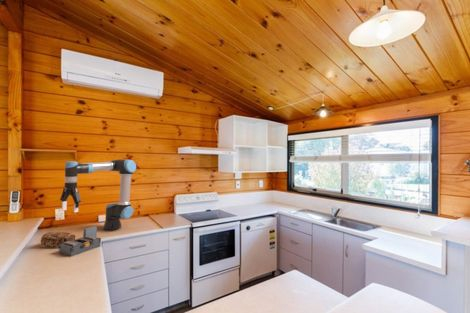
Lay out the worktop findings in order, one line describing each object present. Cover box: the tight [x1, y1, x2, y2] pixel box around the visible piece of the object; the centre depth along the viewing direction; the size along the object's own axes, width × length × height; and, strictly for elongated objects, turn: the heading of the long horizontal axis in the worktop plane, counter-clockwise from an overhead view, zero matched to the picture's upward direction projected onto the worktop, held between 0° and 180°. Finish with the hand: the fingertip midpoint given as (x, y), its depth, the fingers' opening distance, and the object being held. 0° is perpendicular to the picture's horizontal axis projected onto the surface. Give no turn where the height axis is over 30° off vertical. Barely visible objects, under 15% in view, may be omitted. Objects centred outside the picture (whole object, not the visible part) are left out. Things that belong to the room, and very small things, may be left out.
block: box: [82, 225, 98, 238], centre depth 187 cm, size 9×3×10 cm, turn 157°
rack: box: [58, 235, 102, 257], centre depth 167 cm, size 21×14×7 cm, turn 157°
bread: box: [40, 231, 76, 249], centre depth 174 cm, size 19×11×10 cm, turn 93°
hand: (70, 211), depth 172 cm, fingers open, 13 cm apart
